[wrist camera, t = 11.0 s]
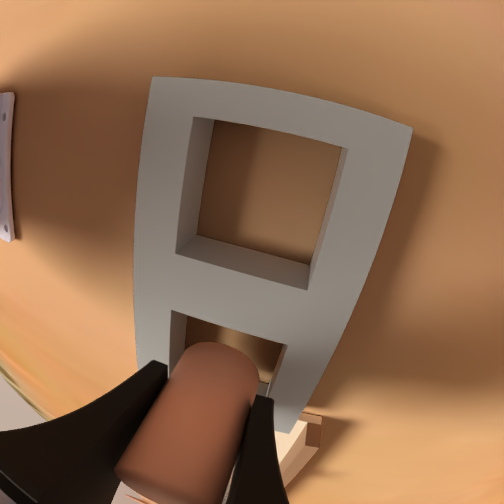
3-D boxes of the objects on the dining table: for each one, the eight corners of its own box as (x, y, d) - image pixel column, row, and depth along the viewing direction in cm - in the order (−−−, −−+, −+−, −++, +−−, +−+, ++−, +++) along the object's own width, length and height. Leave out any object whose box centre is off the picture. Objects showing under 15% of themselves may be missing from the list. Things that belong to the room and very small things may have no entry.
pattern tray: (158, 368, 16) (141, 394, 14) (321, 416, 15) (319, 447, 13) (166, 477, 24) (158, 493, 22) (254, 504, 22) (249, 521, 20)
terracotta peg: (174, 336, 12) (96, 452, 6) (257, 346, 11) (207, 491, 5) (189, 392, 13) (136, 496, 7) (261, 403, 12) (225, 523, 7)
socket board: (179, 83, 10) (152, 76, 8) (396, 128, 9) (413, 128, 7) (155, 361, 15) (139, 385, 14) (294, 405, 15) (289, 434, 13)
